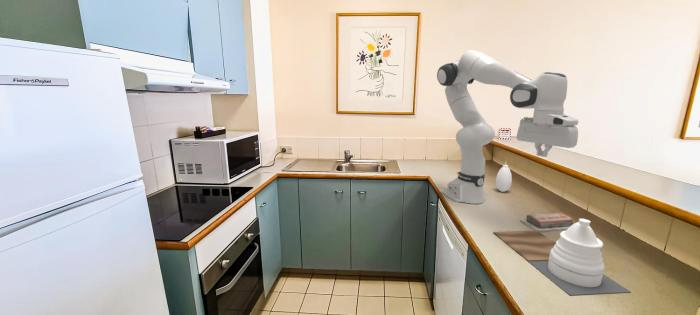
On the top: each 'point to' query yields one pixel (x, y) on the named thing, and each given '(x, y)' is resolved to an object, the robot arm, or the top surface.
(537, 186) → the top surface
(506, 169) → the white tall oval piece
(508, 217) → the top surface
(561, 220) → the packaged product
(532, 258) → the cutting board
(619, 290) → the trivet mat
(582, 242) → the honey pot
